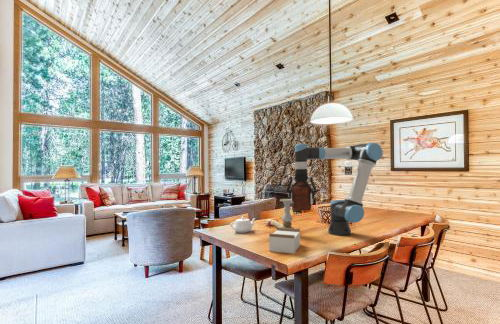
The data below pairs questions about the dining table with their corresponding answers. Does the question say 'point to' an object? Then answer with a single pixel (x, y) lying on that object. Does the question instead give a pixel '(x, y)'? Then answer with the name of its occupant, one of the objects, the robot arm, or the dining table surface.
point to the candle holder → (287, 213)
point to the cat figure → (273, 223)
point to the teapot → (242, 225)
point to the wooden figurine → (301, 197)
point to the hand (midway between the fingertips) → (301, 203)
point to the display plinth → (284, 240)
